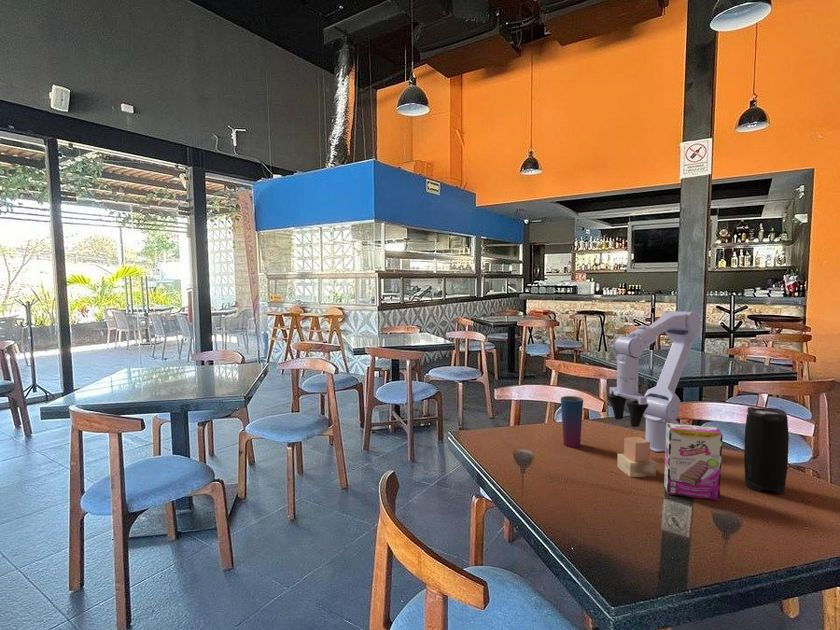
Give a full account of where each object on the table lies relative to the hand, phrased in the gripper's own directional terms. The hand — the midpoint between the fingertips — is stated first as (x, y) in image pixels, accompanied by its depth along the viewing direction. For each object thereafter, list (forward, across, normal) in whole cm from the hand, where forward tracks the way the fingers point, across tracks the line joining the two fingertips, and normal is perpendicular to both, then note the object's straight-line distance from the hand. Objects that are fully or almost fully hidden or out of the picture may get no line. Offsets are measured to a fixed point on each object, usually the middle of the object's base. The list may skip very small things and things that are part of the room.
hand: (626, 422), depth 134 cm
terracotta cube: (+6, +11, -5) cm, 14 cm away
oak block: (+10, +11, -5) cm, 16 cm away
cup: (+10, -12, -11) cm, 19 cm away
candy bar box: (+10, +26, -1) cm, 28 cm away
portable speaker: (+10, +27, +19) cm, 35 cm away
